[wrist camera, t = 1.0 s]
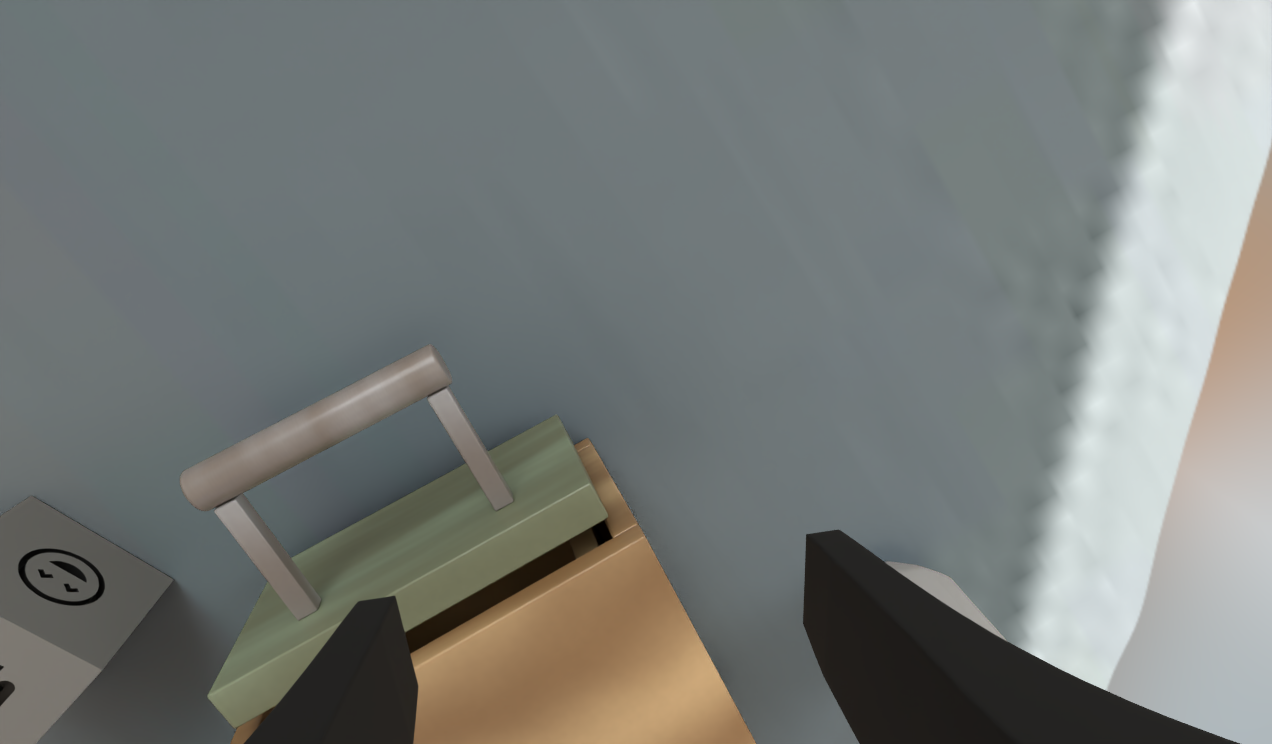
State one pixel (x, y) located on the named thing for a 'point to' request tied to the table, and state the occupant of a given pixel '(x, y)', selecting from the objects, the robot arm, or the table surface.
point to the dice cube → (61, 613)
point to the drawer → (393, 530)
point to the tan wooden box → (576, 656)
